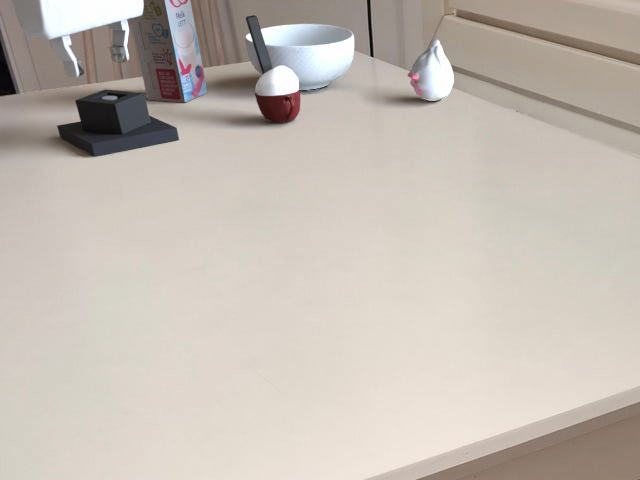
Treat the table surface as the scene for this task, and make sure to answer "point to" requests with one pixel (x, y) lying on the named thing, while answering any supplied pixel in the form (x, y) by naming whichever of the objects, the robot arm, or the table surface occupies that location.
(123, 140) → the base pad
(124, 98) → the black box
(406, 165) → the table surface
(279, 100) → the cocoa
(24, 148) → the table surface
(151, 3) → the milk carton
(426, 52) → the figurine
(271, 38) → the cereal bowl
